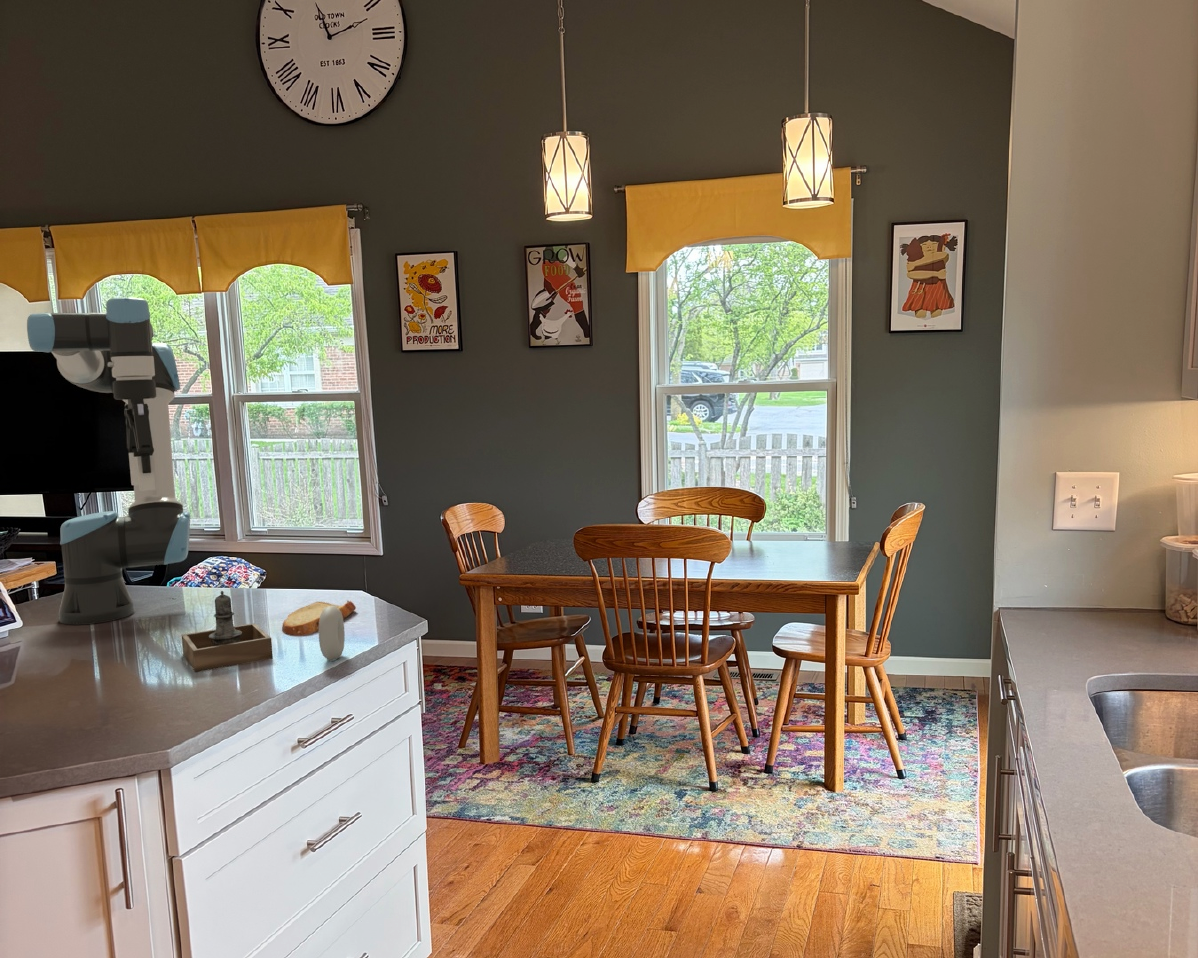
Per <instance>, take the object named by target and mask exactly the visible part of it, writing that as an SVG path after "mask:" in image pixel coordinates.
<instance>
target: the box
mask: <svg viewBox="0 0 1198 958" xmlns="http://www.w3.org/2000/svg"><path fill="white" fill-rule="evenodd" d="M234 628H235V629H236V630H239V631H241V632H242V634H241V635H240V637H241V638H240V641H239V642H237V643H231V644H225V645H219V646H214V645H213V644H212V642H211V639H210V638H209V635H210V634H212V633H214V632H215V630H216V628H215V629H210V630H202V631H197V632H192V633H191V632H190V633H184V634H181V644H182V655H183V657H184V659H185V660H186V662H187V663H188V664H189V666H190V667H191V668H192V670H193V671H194V673H199V672H205V671H211V670H216V669H222V668H228V667H233V666H239V665H245V664H250V663H255V662H260V661H261V662H262V661H267V660H268V661H269V660H272V659H274V656H273V643H272V637H271V636H270V635H269V634H268V633H266V632H265V630H264V629H263V628H261V627H260V626H259V625H258V624H257V623H256V622H254V623H248V624H241V625H235V626H234Z"/></svg>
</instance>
